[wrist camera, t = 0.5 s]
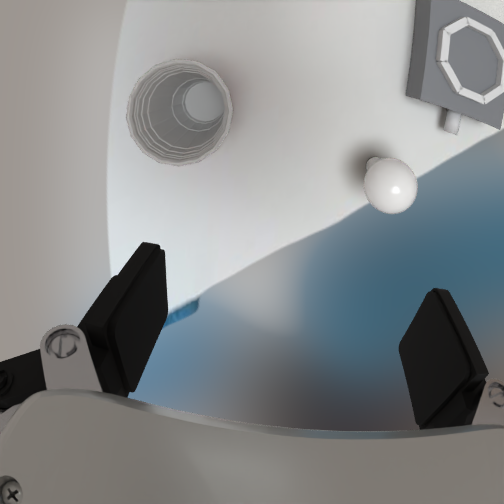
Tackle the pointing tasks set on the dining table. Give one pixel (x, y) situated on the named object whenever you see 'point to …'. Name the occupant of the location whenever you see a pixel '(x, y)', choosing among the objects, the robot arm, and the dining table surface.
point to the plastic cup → (179, 112)
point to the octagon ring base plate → (458, 62)
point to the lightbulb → (390, 185)
